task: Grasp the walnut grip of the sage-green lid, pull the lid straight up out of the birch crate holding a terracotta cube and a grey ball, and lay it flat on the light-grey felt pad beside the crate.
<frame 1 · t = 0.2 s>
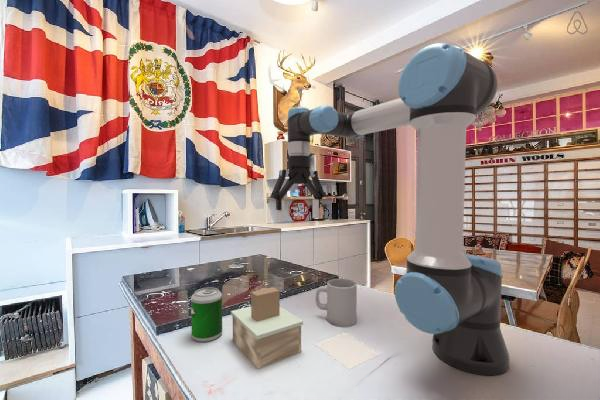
hand: (299, 219, 98), 28 cm above the worktop, fingers open, 13 cm apart
pad: (346, 351, 68), on the worktop
lid: (265, 319, 69), point 7 cm above the worktop, touching crate
ball: (256, 341, 72), point 1 cm above the worktop, touching crate
soda can: (207, 338, 75), on the worktop
crate: (265, 348, 70), on the worktop
cube: (271, 351, 67), point 1 cm above the worktop, touching crate
mug: (335, 320, 85), on the worktop
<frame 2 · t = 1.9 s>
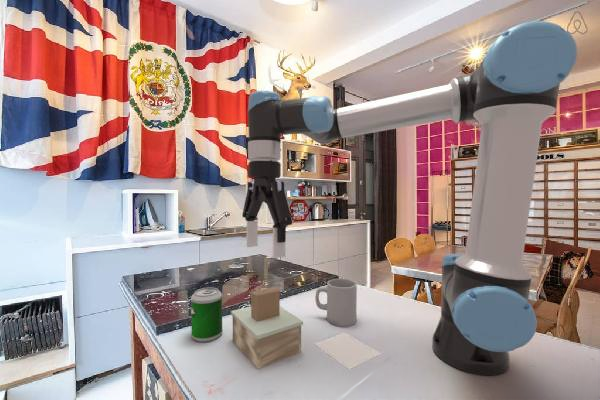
hand: (264, 251, 69), 23 cm above the worktop, fingers open, 13 cm apart
nothing on the worktop moved.
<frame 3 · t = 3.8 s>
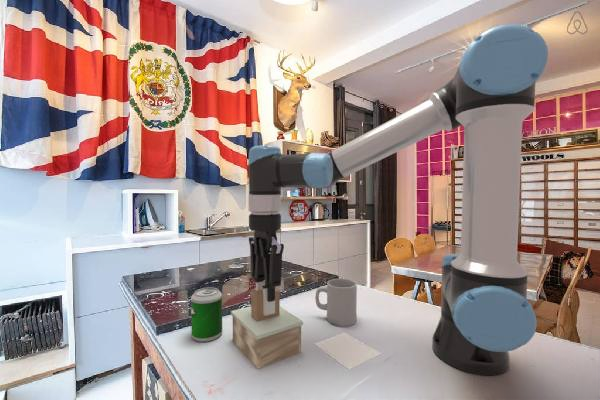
hand: (265, 310, 69), 9 cm above the worktop, fingers closed on lid, 3 cm apart
lid: (265, 319, 69), point 7 cm above the worktop, touching crate, gripper
everything else where it was.
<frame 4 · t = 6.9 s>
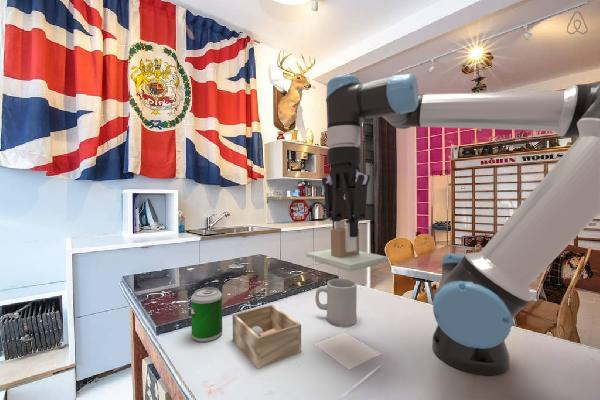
hand: (345, 249, 67), 24 cm above the worktop, fingers closed on lid, 3 cm apart
lid: (345, 258, 67), point 22 cm above the worktop, touching gripper
everything else where it was.
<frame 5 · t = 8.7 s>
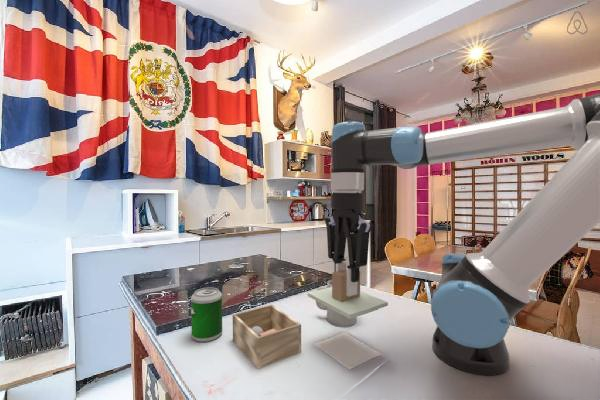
hand: (346, 292, 68), 14 cm above the worktop, fingers closed on lid, 3 cm apart
lid: (346, 300, 68), point 12 cm above the worktop, touching gripper
everything else where it was.
when the fingers open (5 cm above the worktop, at t = 10.3 s): lid drops 1 cm, resting on pad.
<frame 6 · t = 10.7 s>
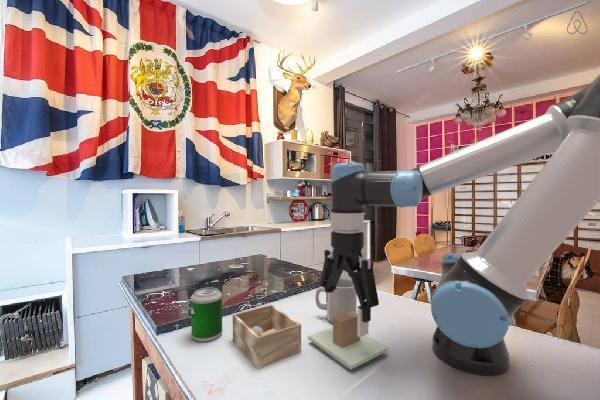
hand: (346, 325, 68), 6 cm above the worktop, fingers open, 9 cm apart
lid: (346, 344, 68), point 2 cm above the worktop, touching pad
everything else where it was.
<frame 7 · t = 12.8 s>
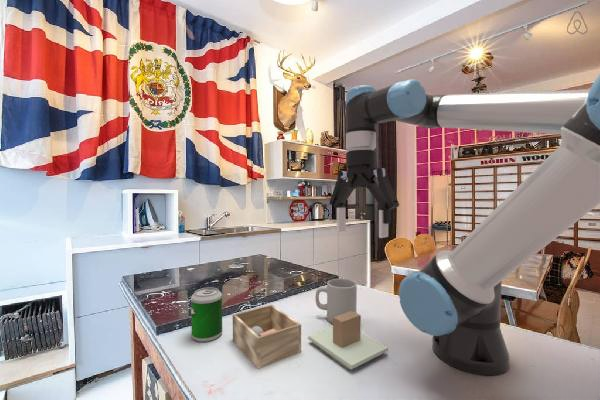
hand: (360, 234, 74), 26 cm above the worktop, fingers open, 13 cm apart
nothing on the worktop moved.
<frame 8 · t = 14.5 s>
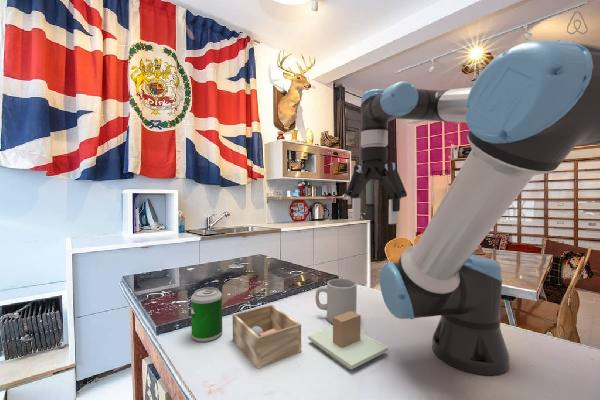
hand: (373, 221, 84), 29 cm above the worktop, fingers open, 13 cm apart
nothing on the worktop moved.
at the end: lid inside the target area on the pad (0.0 cm from its centre), point 1.6 cm above the pad's base; lid tilted 0°; the gripper is holding nothing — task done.
